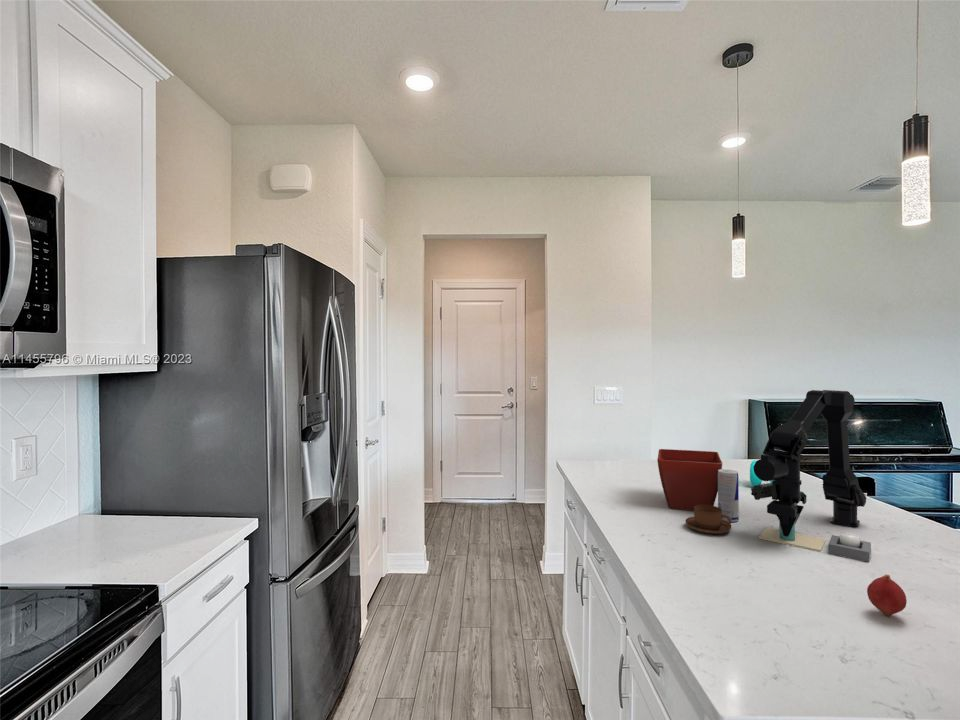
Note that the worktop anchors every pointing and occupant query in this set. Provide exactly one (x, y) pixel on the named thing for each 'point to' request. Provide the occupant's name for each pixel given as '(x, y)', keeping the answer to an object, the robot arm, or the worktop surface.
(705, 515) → the cup and saucer
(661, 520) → the worktop surface
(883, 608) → the onion
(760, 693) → the worktop surface
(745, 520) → the worktop surface
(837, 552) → the button housing
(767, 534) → the paper pad
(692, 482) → the plant pot
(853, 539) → the button
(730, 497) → the beverage can
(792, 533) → the teal grey-topped cylinder
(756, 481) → the donuts
